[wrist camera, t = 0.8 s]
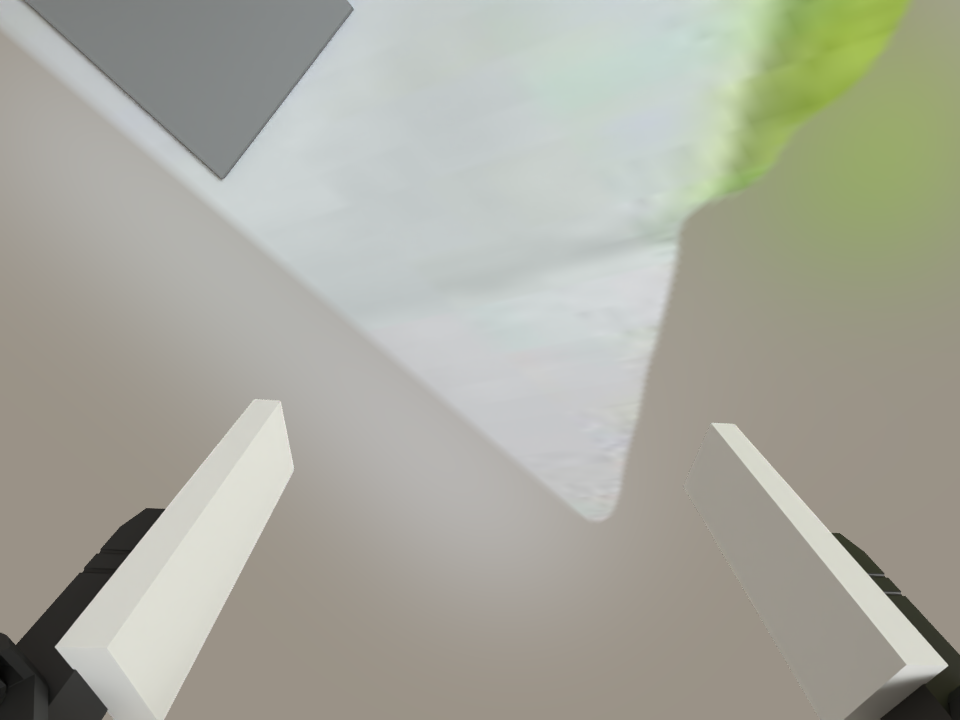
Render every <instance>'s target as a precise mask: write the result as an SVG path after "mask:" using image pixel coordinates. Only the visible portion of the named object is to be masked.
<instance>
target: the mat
mask: <svg viewBox="0 0 960 720" xmlns="http://www.w3.org/2000/svg"><path fill="white" fill-rule="evenodd" d="M25 1H26V2H27V3H28V4H29V5H30V6H31V7H33V8H34V9H35V10H36V11H37V12H38V13H39V14H40V15H41V16H42V17H44V18H45V19H46V20H47V21H48V22H49V23H50V24H51V25H52V26H53V27H55V28H56V29H57V30H58V31H59V32H60V33H61V34H62V35H63V36H65V37H66V38H67V39H68V40H69V41H70V42H71V43H72V44H73V45H74V46H76V47H77V48H78V49H79V50H80V51H81V52H82V53H83V54H84V55H86V56H87V57H88V58H89V59H90V60H91V61H92V62H93V63H94V64H95V65H97V66H98V67H99V68H100V69H101V70H102V71H103V72H104V73H105V74H106V75H108V76H109V77H110V78H111V79H112V80H113V81H114V82H115V83H116V84H118V85H119V86H120V87H121V88H122V89H123V90H124V91H125V92H126V93H127V94H129V95H130V96H131V97H132V98H133V99H134V100H135V101H136V102H137V103H139V104H140V105H141V106H142V107H143V108H144V109H145V110H146V111H147V112H148V113H150V114H151V115H152V116H153V117H154V118H155V119H156V120H157V121H158V122H160V123H161V124H162V125H163V126H164V127H165V128H166V129H167V130H168V131H169V132H171V133H172V134H173V135H174V136H175V137H176V138H177V139H178V140H179V141H180V142H182V143H183V144H184V145H185V146H186V147H187V148H188V149H189V150H190V151H192V152H193V153H194V154H195V155H196V156H197V157H198V158H199V159H200V160H201V161H203V162H204V163H205V164H206V165H207V166H208V167H209V168H210V169H211V170H213V171H214V172H215V173H216V174H217V175H218V176H219V177H220V178H221V179H224V178H225V177H226V176H227V174H228V173H229V172H230V170H231V169H232V168H233V166H234V165H235V164H236V162H237V161H238V160H239V159H240V157H241V156H242V155H243V153H244V152H245V151H246V149H247V148H248V147H249V145H250V144H251V143H252V142H253V140H254V139H255V138H256V136H257V135H258V134H259V132H260V131H261V130H262V128H263V127H264V126H265V125H266V123H267V122H268V121H269V119H270V118H271V117H272V115H273V114H274V113H275V111H276V110H277V109H278V108H279V106H280V105H281V104H282V102H283V101H284V100H285V98H286V97H287V96H288V95H289V93H290V92H291V91H292V89H293V88H294V87H295V85H296V84H297V83H298V81H299V80H300V79H301V78H302V76H303V75H304V74H305V72H306V71H307V70H308V68H309V67H310V66H311V64H312V63H313V62H314V61H315V59H316V58H317V57H318V55H319V54H320V53H321V51H322V50H323V49H324V47H325V46H326V45H327V44H328V42H329V41H330V40H331V38H332V37H333V36H334V34H335V33H336V32H337V30H338V29H339V28H340V27H341V25H342V24H343V23H344V21H345V20H346V19H347V17H348V16H349V15H350V13H351V12H352V11H353V10H354V9H353V7H352V6H351V5H350V4H349V2H348V1H347V0H25Z"/></svg>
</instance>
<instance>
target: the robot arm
mask: <svg viewBox="0 0 960 720" xmlns="http://www.w3.org/2000/svg"><path fill="white" fill-rule="evenodd" d="M293 471H294V466H293V461H292V456H291V451H290V446H289V441H288V435H287V430H286V425H285V420H284V415H283V410H282V405H281V401H278V400H259V399H254V400H253V401H252V402H251V404H250V405H249V406H248V407H247V409H246V410H245V411H244V412H243V414H242V415H241V416H240V417H239V419H238V420H237V421H236V422H235V424H234V425H233V426H232V427H231V429H230V430H229V431H228V432H227V434H226V435H225V436H224V437H223V439H222V440H221V441H220V442H219V443H218V445H217V446H216V447H215V448H214V450H213V451H212V452H211V454H210V455H209V456H208V457H207V459H206V460H205V461H204V462H203V463H202V465H201V466H200V467H199V468H198V470H197V471H196V472H195V473H194V475H193V476H192V477H191V478H190V480H189V481H188V482H187V483H186V485H185V486H184V487H183V488H182V490H181V491H180V492H179V493H178V494H177V496H176V497H175V498H174V500H173V501H172V502H171V503H170V504H169V506H168V507H167V508H166V509H152V508H146V509H145V510H143V511H142V512H140V513H139V514H138V515H136V516H135V517H133V518H132V519H131V520H129V521H128V522H126V523H125V524H124V525H122V526H121V527H120V528H119V529H118V530H117V531H116V532H115V533H114V535H113V536H112V537H111V538H110V539H109V540H108V541H107V543H106V544H105V545H104V546H103V547H102V548H101V551H100V553H99V554H96V555H95V556H94V557H93V559H91V561H90V562H89V563H88V564H87V565H86V566H85V568H84V571H83V572H82V573H79V574H78V576H76V578H75V579H74V580H73V581H72V582H71V583H70V584H69V586H68V587H67V588H66V589H65V590H64V591H63V592H62V594H61V595H60V596H59V597H58V598H57V599H56V600H55V602H54V603H53V604H52V605H51V606H50V607H49V608H48V609H47V611H46V612H45V613H44V614H43V615H42V616H41V617H40V619H39V620H38V621H37V622H36V623H35V624H34V625H33V626H32V627H31V629H30V630H29V631H28V632H27V633H26V634H25V635H24V637H23V638H22V639H21V640H20V641H19V642H18V643H17V645H15V644H14V643H13V642H12V641H11V640H10V638H9V637H8V636H7V635H5V634H2V633H0V720H102V718H103V717H104V715H105V714H106V712H108V713H109V714H110V715H111V717H112V718H113V719H114V720H164V718H165V717H166V714H167V713H168V711H169V709H170V707H171V705H172V703H173V701H174V699H175V697H176V695H177V694H178V692H179V690H180V688H181V686H182V684H183V682H184V680H185V678H186V676H187V674H188V672H189V671H190V669H191V667H192V664H193V663H194V661H195V659H196V657H197V655H198V653H199V651H200V649H201V647H202V646H203V644H204V642H205V640H206V638H207V636H208V634H209V632H210V630H211V628H212V626H213V624H214V622H215V621H216V619H217V617H218V615H219V613H220V611H221V609H222V607H223V605H224V603H225V601H226V599H227V597H228V596H229V594H230V592H231V590H232V588H233V586H234V584H235V582H236V580H237V578H238V576H239V575H240V572H241V571H242V569H243V567H244V565H245V563H246V561H247V559H248V557H249V555H250V553H251V552H252V550H253V548H254V546H255V544H256V542H257V540H258V538H259V536H260V534H261V532H262V530H263V528H264V526H265V525H266V523H267V521H268V519H269V517H270V515H271V513H272V511H273V509H274V507H275V505H276V504H277V502H278V500H279V498H280V496H281V494H282V492H283V490H284V488H285V486H286V484H287V482H288V481H289V479H290V477H291V475H292V473H293ZM683 487H684V489H685V491H686V492H687V494H688V496H689V498H690V499H691V501H692V503H693V505H694V506H695V508H696V510H697V511H698V513H699V515H700V516H701V518H702V520H703V522H704V523H705V525H706V527H707V528H708V530H709V532H710V533H711V535H712V537H713V538H714V540H715V542H716V544H717V545H718V547H719V549H720V550H721V552H722V554H723V555H724V557H725V559H726V561H727V562H728V564H729V566H730V567H731V569H732V570H733V572H734V574H735V576H736V578H737V579H738V581H739V583H740V584H741V586H742V588H743V590H744V591H745V593H746V595H747V596H748V598H749V599H750V602H751V603H752V605H753V607H754V608H755V610H756V612H757V613H758V615H759V617H760V619H761V620H762V622H763V624H764V625H765V627H766V629H767V630H768V632H769V634H770V635H771V637H772V639H773V641H774V642H775V644H776V646H777V647H778V649H779V651H780V653H781V654H782V656H783V657H784V659H785V661H786V663H787V664H788V666H789V667H790V670H791V671H792V673H793V675H794V676H795V678H796V680H797V681H798V683H799V685H800V686H801V688H802V690H803V692H804V693H805V695H806V697H807V698H808V700H809V702H810V704H811V705H812V707H813V709H814V710H815V712H816V714H817V715H818V717H819V719H820V720H960V655H959V654H958V653H957V652H956V650H955V649H954V648H953V647H952V646H951V645H950V644H949V643H948V642H947V641H946V640H945V639H944V637H942V635H941V634H940V633H939V632H938V631H937V630H936V629H935V628H934V627H933V626H932V625H931V623H929V622H928V620H927V619H926V618H925V617H924V616H923V615H922V614H921V613H920V612H919V610H918V609H917V608H916V607H915V606H914V605H913V604H912V603H911V602H910V601H909V600H908V599H907V597H906V596H902V595H901V591H900V590H899V589H898V588H897V587H896V586H895V585H894V583H893V582H892V581H891V580H890V579H889V578H886V577H885V576H884V573H883V572H882V571H881V569H880V568H879V567H878V566H877V565H876V564H875V563H874V562H873V561H872V560H871V559H870V558H869V557H868V555H867V554H866V553H865V552H864V551H862V550H861V549H860V548H858V547H857V546H856V545H854V544H853V543H852V542H850V541H849V540H848V539H846V538H845V537H844V536H843V535H841V534H840V533H831V532H830V531H829V530H828V529H827V528H826V527H825V526H824V524H823V523H822V522H821V521H820V520H819V519H818V518H817V517H816V515H815V514H814V513H813V512H812V511H811V510H810V509H809V508H808V506H807V505H806V504H805V503H804V502H803V501H802V500H801V498H800V497H799V496H798V495H797V494H796V493H795V492H794V491H793V489H792V488H791V487H790V486H789V485H788V484H787V483H786V482H785V481H784V480H783V478H782V477H781V476H780V475H779V474H778V473H777V471H776V470H775V469H774V468H773V467H772V466H771V465H770V464H769V462H768V461H767V460H766V459H765V458H764V457H763V456H762V455H761V453H760V452H759V451H758V450H757V449H756V448H755V447H754V445H753V444H752V443H751V442H750V441H749V440H748V439H747V438H746V436H745V435H744V434H743V433H742V432H741V431H740V430H739V429H738V427H737V426H736V425H735V424H723V423H710V426H709V428H708V431H707V433H706V435H705V437H704V439H703V442H702V444H701V446H700V448H699V451H698V453H697V455H696V458H695V460H694V462H693V464H692V467H691V469H690V471H689V473H688V476H687V478H686V480H685V483H684V485H683Z"/></svg>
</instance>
